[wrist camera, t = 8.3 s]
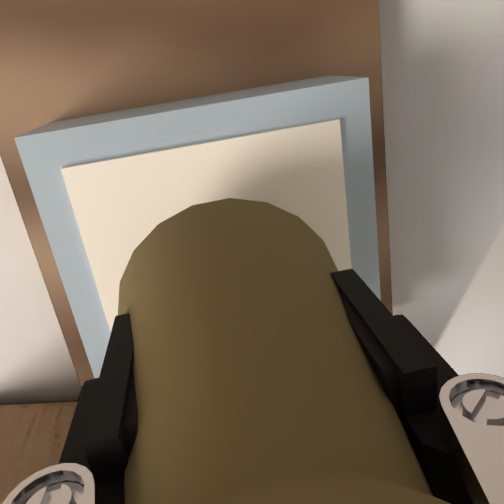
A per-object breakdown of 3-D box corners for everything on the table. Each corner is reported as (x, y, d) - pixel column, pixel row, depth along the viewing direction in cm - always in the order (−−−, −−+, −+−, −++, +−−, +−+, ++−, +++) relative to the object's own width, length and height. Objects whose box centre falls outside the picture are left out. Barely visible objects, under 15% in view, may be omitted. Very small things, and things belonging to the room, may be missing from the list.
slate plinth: (50, 122, 17) (11, 138, 13) (328, 75, 17) (370, 77, 14) (122, 360, 20) (109, 429, 17) (348, 313, 21) (386, 368, 17)
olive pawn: (384, 274, 13) (1061, 959, 3) (257, 429, 15) (437, 1272, 4) (200, 150, 11) (370, 857, 1) (74, 340, 13) (-369, 1465, 2)
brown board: (-45, -24, 16) (-66, -33, 15) (357, -83, 17) (373, -96, 16) (88, 369, 22) (82, 389, 21) (380, 308, 23) (393, 323, 22)
